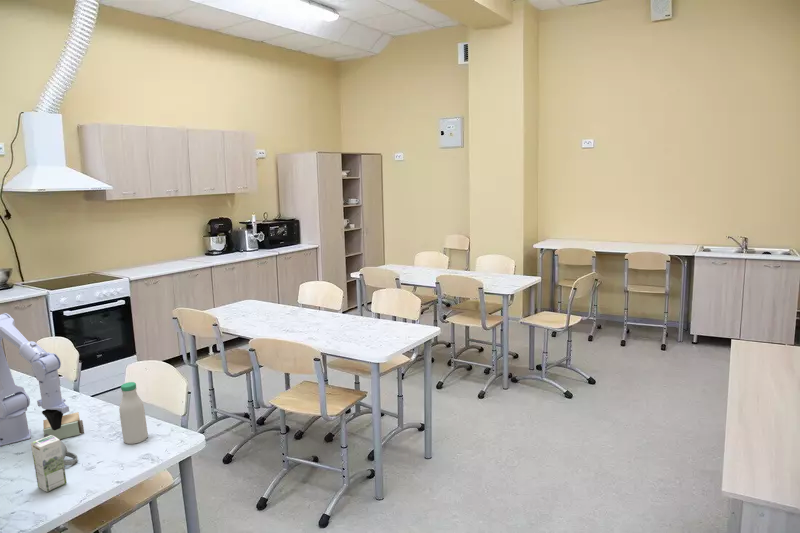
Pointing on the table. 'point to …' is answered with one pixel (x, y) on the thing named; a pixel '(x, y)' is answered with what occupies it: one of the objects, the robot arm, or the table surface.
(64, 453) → the ceramic mug
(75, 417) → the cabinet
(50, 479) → the syrup box
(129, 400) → the milk bottle
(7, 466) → the table surface
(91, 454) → the table surface
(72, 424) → the door
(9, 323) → the robot arm
